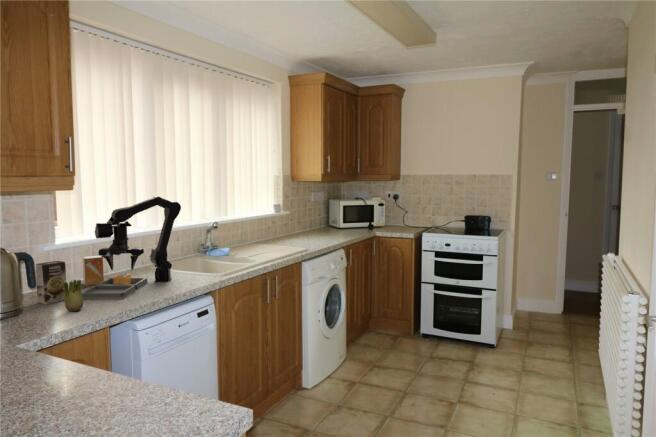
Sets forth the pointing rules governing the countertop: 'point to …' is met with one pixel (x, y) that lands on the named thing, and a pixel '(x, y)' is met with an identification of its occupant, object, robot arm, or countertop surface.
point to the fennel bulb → (73, 296)
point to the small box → (93, 270)
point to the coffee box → (50, 281)
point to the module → (122, 278)
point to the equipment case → (138, 281)
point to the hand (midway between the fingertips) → (122, 269)
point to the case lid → (108, 292)
